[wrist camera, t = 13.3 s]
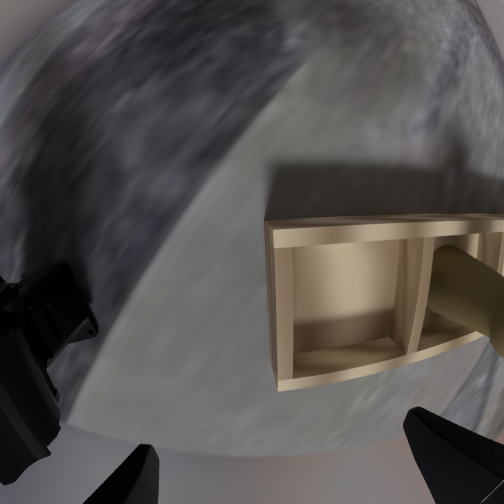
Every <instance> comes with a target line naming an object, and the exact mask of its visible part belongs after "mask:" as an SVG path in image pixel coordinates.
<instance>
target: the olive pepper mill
mask: <svg viewBox="0 0 504 504" xmlns="http://www.w3.org/2000/svg"><path fill="white" fill-rule="evenodd" d="M426 309H429V310H431V311H433V312H435V313H437V314H440V315H442V316H444V317H446V318H448V319H451V320H453V321H455V322H457V323H459V324H462V325H464V326H466V327H468V328H470V329H472V330H475V331H477V332H479V333H481V334H483V335H485V336H487V337H490V342H491V344H492V346H493V348H494V349H495V351H496V352H497V353H498V354H499V355H500V356H501V357H503V358H504V276H502V275H501V274H499V273H498V272H496V271H495V270H493V269H492V268H490V267H489V266H487V265H486V264H484V263H482V262H481V261H479V260H478V259H476V258H474V257H473V256H471V255H470V254H468V253H466V252H465V251H463V250H461V249H459V248H458V247H456V246H454V245H447V244H446V245H444V246H441V247H439V248H438V249H436V250H435V251H434V252H433V261H432V270H431V278H430V286H429V292H428V299H427V305H426Z"/></svg>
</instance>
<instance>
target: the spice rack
mask: <svg viewBox="0 0 504 504" xmlns="http://www.w3.org/2000/svg"><path fill="white" fill-rule="evenodd" d="M264 228H265V248H266V269H267V291H268V314H269V340H270V361H271V365H272V369H273V373H274V377H275V382H276V386H277V390H278V392H279V391H287V390H294V389H300V388H307V387H313V386H319V385H324V384H330V383H335V382H340V381H344V380H349V379H354V378H358V377H362V376H366V375H371V374H375V373H378V372H382V371H386V370H390V369H393V368H397V367H400V366H404V365H407V364H410V363H413V362H417V361H420V360H423V359H426V358H429V357H432V356H434V355H437V354H440V353H443V352H446V351H448V350H451V349H454V348H456V347H459V346H461V345H464V344H466V343H469V342H471V341H473V340H476V339H478V338H480V337H483V336H485V335H483V334H481V333H479V332H477V331H475V330H472V329H470V328H468V327H466V326H464V325H462V324H459V323H457V322H455V321H453V320H451V319H448V318H446V317H444V316H442V315H440V314H437V313H435V312H433V311H431V310H429V309H426V305H427V299H428V292H429V286H430V278H431V270H432V261H433V252H434V251H435V250H436V249H438V248H439V247H441V246H444V245H446V244H447V245H454V246H456V247H458V248H459V249H461V250H463V251H465V252H466V253H468V254H470V255H471V256H473V257H474V258H476V259H478V260H479V261H481V262H482V263H484V264H486V265H487V266H489V267H490V268H492V269H493V270H495V271H496V272H498V273H499V274H501V275H502V276H504V214H480V213H454V214H393V215H362V216H337V217H316V218H297V219H280V220H264Z"/></svg>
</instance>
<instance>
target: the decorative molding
mask: <svg viewBox="0 0 504 504" xmlns="http://www.w3.org/2000/svg"><path fill="white" fill-rule="evenodd" d="M475 1H476V3H477V5H478V7H479V9H480V11H481V13H482V15H483V17H484V19H485V21H486V23H487V25H488V27H489V30H490V32H491V34H492V36H493V39H494V41H495V43H496V46H497V48H498V51H499V53H500V56H501V59H502V62H503V64H504V0H475Z"/></svg>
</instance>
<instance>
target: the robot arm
mask: <svg viewBox="0 0 504 504" xmlns="http://www.w3.org/2000/svg"><path fill="white" fill-rule="evenodd" d="M62 267H63V268H64V271H63V270H62ZM22 286H23V287H22ZM91 330H92V331H93V332H94V333H93V332H91ZM97 334H98V329H97V327H96V325H95V323H94V321H93V319H92V317H91V315H90V313H89V311H88V309H87V306H86V304H85V302H84V300H83V298H82V296H81V294H80V291H79V289H78V287H77V285H76V283H75V281H74V278H73V276H72V274H71V271H70V269H69V266H68V264H67V263H66V262H64V261H63V262H60V263H58V264H56V265H53V266H51V267H49V268H47V269H45V270H42V271H40V272H38V273H36V274H34V275H32V276H30V277H28V278H26V279H23V280H21V281H20V282H19V283H6V282H5V280H3V279H2V277H1V276H0V485H2V486H4V485H8V484H11V483H14V482H15V481H16V480H17V479H18V478H19V477H20V475H21V474H22V473H23V472H24V471H25V470H26V469H27V468H28V467H29V466H30V465H32V464H33V463H35V462H36V461H38V460H40V459H42V458H45V457H48V456H50V455H51V452H50V451H49V449H48V448H47V446H49V444H50V443H51V442H52V441H53V440H54V439H55V438H56V437H57V435H58V433H59V431H60V429H61V427H60V425H59V421H60V409H59V406H58V402H59V397H60V395H59V393H58V391H57V389H56V388H55V387H54V385H53V383H52V381H51V379H50V377H49V375H48V373H47V370H46V369H47V368H48V367H49V366H50V365H51V363H52V362H53V361H54V360H55V359H56V357H57V356H58V355H59V354H60V353H61V352H62V350H63V349H64V348H65V347H66V346H67V345H68V344H70V343H74V342H78V341H82V340H86V339H90V338H94V337H95V336H96V335H97ZM403 429H404V432H405V434H406V437H407V440H408V443H409V445H410V448H411V450H412V454H413V457H414V459H415V461H416V463H417V465H418V467H419V469H420V471H421V473H422V475H423V478H424V480H425V481H426V484H427V486H428V488H429V490H430V492H431V494H432V497H433V499H434V501H435V503H436V504H504V445H503V444H501V443H498V442H495V441H493V440H491V439H488V438H486V437H484V436H481V435H479V434H477V433H475V432H472V431H470V430H468V429H466V428H464V427H461V426H459V425H457V424H455V423H453V422H451V421H449V420H446V419H444V418H442V417H440V416H438V415H436V414H434V413H432V412H430V411H428V410H426V409H424V408H422V407H419V406H417V407H414V408H412V409H410V410H409V411H408V413H407V415H406V418H405V420H404V423H403ZM158 495H159V457H158V455H157V453H156V451H155V450H154V447H153V446H152V445H150V444H140V445H138V446H137V448H136V449H135V450H134V451H133V452H132V453H131V454H130V455H129V456H128V457H127V458H126V459H125V461H123V463H122V464H121V465H120V466H119V467H118V468H117V469H116V470H115V471H114V472H113V473H112V474H111V475H110V476H109V477H108V478H107V479H106V480H105V481H104V482H103V483H102V484H101V485H100V486H99V487H98V489H97V490H96V491H95V492H94V493H93V494H92V495H91V496H90V497H89V498H88V499H87V500H86V501H85V502H84V503H83V504H158Z"/></svg>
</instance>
